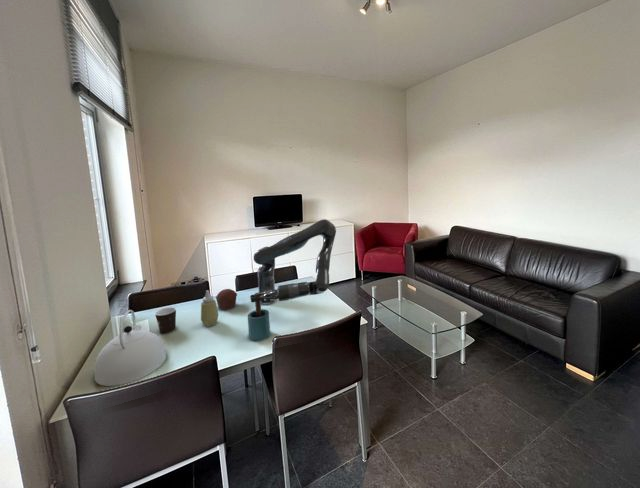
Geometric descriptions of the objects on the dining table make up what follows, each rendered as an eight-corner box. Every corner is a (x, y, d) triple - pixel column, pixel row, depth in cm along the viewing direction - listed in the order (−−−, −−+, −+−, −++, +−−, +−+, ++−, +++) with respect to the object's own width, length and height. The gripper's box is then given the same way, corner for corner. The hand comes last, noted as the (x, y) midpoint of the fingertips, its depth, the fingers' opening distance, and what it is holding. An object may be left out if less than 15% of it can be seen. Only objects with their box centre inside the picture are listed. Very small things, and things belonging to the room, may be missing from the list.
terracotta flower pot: (239, 307, 172) (238, 291, 171) (218, 313, 166) (217, 296, 164) (235, 300, 182) (234, 285, 180) (215, 305, 176) (213, 289, 174)
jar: (248, 333, 145) (247, 311, 144) (268, 328, 149) (267, 307, 148) (249, 342, 137) (248, 320, 135) (271, 337, 141) (269, 316, 139)
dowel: (254, 328, 144) (251, 292, 141) (264, 325, 146) (261, 290, 143) (255, 332, 140) (252, 296, 137) (265, 330, 142) (262, 294, 139)
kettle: (109, 354, 129) (102, 305, 126) (171, 341, 138) (166, 295, 135) (84, 393, 106) (75, 334, 103) (160, 374, 116) (154, 320, 113)
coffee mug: (159, 327, 151) (157, 309, 149) (179, 324, 154) (177, 305, 153) (153, 339, 140) (151, 319, 139) (175, 335, 144) (173, 315, 142)
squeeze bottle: (211, 328, 150) (208, 294, 147) (197, 327, 151) (194, 293, 149) (222, 320, 157) (219, 288, 155) (209, 319, 159) (206, 287, 157)
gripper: (285, 280, 152) (249, 286, 145) (290, 289, 140) (251, 296, 133) (286, 294, 153) (250, 300, 146) (291, 304, 141) (252, 312, 134)
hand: (250, 298), depth 139 cm, fingers closed on dowel, 2 cm apart
